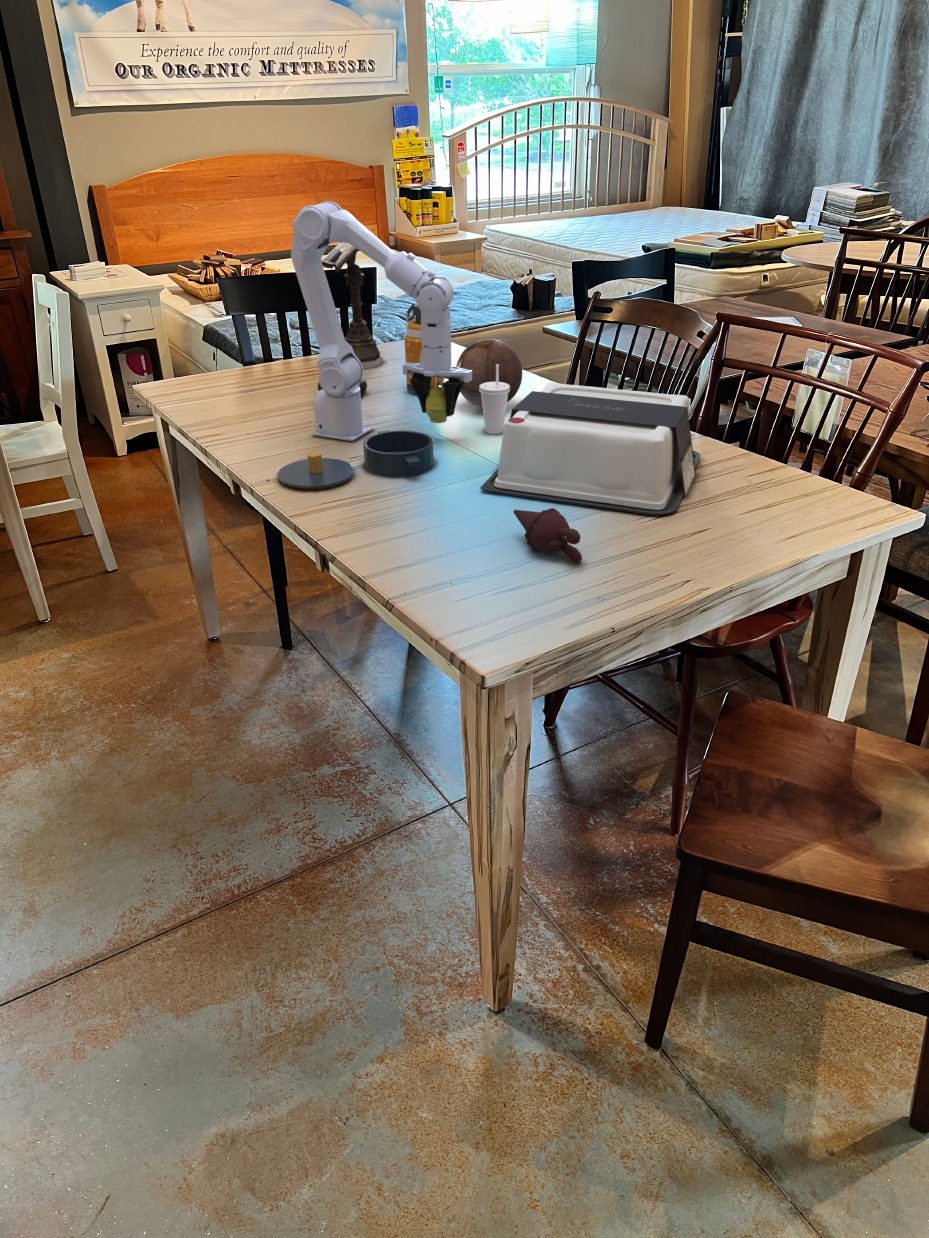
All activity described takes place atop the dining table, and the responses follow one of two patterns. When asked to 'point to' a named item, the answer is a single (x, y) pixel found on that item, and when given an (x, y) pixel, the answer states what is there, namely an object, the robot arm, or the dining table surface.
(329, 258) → the dark brown tall piece
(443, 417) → the pear
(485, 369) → the wooden sphere
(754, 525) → the dining table surface
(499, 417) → the smoothie
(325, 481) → the lid
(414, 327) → the canister
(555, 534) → the icecream
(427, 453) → the pan
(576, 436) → the cake box
